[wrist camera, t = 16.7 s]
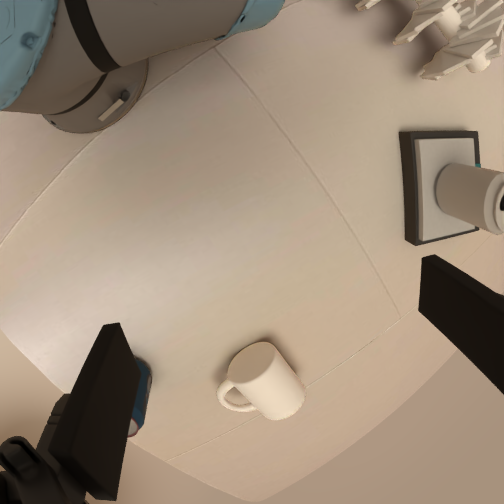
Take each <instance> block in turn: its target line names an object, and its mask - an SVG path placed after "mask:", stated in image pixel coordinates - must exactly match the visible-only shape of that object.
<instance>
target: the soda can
mask: <svg viewBox="0 0 504 504" xmlns="http://www.w3.org/2000/svg"><path fill="white" fill-rule="evenodd" d="M135 360H136V362H137V365H138V367H139V369H140V371H141V373H142V374H141V378H140V382H139V387H138V391H137V395H136V400H135V404H134V409H133V413H132V418H131V422H130V427H129V432H128V437H132V436H134V435H136V434H137V432H138V430H139V429H140V428H141V427H142V426H143V424H144V420H145V415H146V409H147V404H148V398H149V393H150V388H151V383H152V376H151V373H150V371H149V369H148V368H147V367H146V365H145V364H144V363H143V362H141V361H140V360H138V359H135ZM128 437H127V438H128Z"/></svg>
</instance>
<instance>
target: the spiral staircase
mask: <svg viewBox="0 0 504 504" xmlns="http://www.w3.org/2000/svg"><path fill="white" fill-rule="evenodd" d="M379 1H381V0H361V1H360V2H359V3H357V4H356V5H355V7H356V8H357V10H358V11H362V10H364V9H367V10H368V9H369V8H370V7H372V6H373V5H374V4H376V3H378V2H379ZM415 1H416V2H417V4H418V6H419V7H418V8H417V9H416V10H415V11H414V12H412V13H413V14H412V19H411V20H410V21H409V23H408V24H407V25H406V26H405V27H404V29H403V30H402V31H401V32H400V33H399V34H398V35H397V36H395V37H396V39H395V40H394V41H393V42H392V43H393V44H394V45H399V44H403V43H408V42H411V41H412V40H413V39H414V38H415V37H416V36H417V35H418V34H419V33H420V32H421V31H422V30H423V29H424V28H425V27H426V26H428V25H429V24H431V23H435V25H436V26H437V27H438V28H439V30H440V31H441V32H442V33H443V35H444V36H445V37H446V39H447V40H448V41H449V43H448V44H447V45H445V46H444V47H443V48H441V49H440V51H438V52H436V53H435V55H434V57H433V59H432V61H430V62H428V63H427V64H425V65H424V66H423V67H424V70H425V72H424V73H423V74H422V75H421V76H420V77H421V78H422V79H428V80H438V79H439V78H440V77H441V76H443V75H447V74H448V73H450V72H452V71H454V70H456V69H458V68H460V67H462V66H464V65H466V67H467V68H468V70H469V71H470V72H472V73H476V72H480V71H482V70H484V69H486V68H487V67H488V66H489V65H490V62H491V60H490V59H492V58H495V57H499V56H501V53H502V45H503V37H504V32H503V30H501V29H502V27H503V24H504V21H503V19H504V10H503V8H502V7H500V5H501V4H502V3H503V1H502V0H484V1H483V2H482V3H480V4H479V5H478V6H477V0H465V1H463V2H461V3H456V2H457V1H458V0H415Z"/></svg>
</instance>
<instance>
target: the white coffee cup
mask: <svg viewBox="0 0 504 504" xmlns="http://www.w3.org/2000/svg"><path fill="white" fill-rule="evenodd" d="M227 376H228V379H227V380H225V381H224V382H223V383H222V384H220V386H219V387H218V389H217V392H216V394H217V398H218V400H219V402H220V403H221V404H222V405H223V406H224V407H226V408H228V409H230V410H233V411H238V412H250V411H254V410H258V411H259V412H260V413H261V414H262V415H263V416H265V417H266V418H268V419H270V420H282V419H285V418H287V417H289V416H291V415H293V414H294V413H295V412H296V411H297V410H298V409H299V408H300V407H301V406H302V404H303V402H304V400H305V397H306V389H305V386H304V385H303V383H302V382H301V381H300V379H299V378H298V377H297V375H296V374H295V373H294V372H293V370H292V369H291V368H290V366H289V365H288V364H287V362H286V361H285V360H284V358H283V357H282V356H281V354H280V353H279V352H278V350H277V349H276V348H275V346H274V345H272V344H271V343H268V342H258V343H254V344H252V345H249V346H248V347H246V348H244V349H243V350H241V351H240V352H239V353H238V354H237V355H236V356H235V357H234V358H233V360H232V361H231V363H230V365H229V367H228V371H227ZM233 387H236V388H237V389H238V390H239V391H240V392H241V393H242V394H243V395H244V396H245V397H246V399H247V400H248V401H249V402H250V403H248V404H244V405H236V404H233V403H231V402H230V401H228V400H227V399H226V398H225V397H224V396H225V394H226V393H227V392H228V391H229V390H230V389H232V388H233Z"/></svg>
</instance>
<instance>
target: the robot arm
mask: <svg viewBox="0 0 504 504" xmlns="http://www.w3.org/2000/svg"><path fill="white" fill-rule="evenodd" d="M284 2H285V0H0V111H9V112H22V113H34V114H42V115H43V117H44V118H45V119H46V120H47V121H48V122H49V123H50V124H52V125H53V126H55V127H56V128H58V129H60V130H63V131H66V132H70V133H92V132H96V131H99V130H102V129H105V128H107V127H109V126H111V125H112V124H114V123H115V122H117V121H118V120H120V119H121V118H122V117H123V116H124V115H125V114H126V113H127V112H128V111H129V110H130V109H131V108H132V107H133V105H134V104H135V103H136V101H137V99H138V98H139V96H140V94H141V92H142V90H143V87H144V85H145V81H146V77H147V71H148V60H147V58H149V57H152V56H155V55H158V54H161V53H164V52H167V51H171V50H174V49H177V48H181V47H184V46H188V45H191V44H195V43H199V42H203V41H207V40H211V39H215V40H222V39H225V38H227V37H229V36H231V35H232V34H236V33H241V32H245V31H249V30H254V29H258V28H261V27H263V26H265V25H266V24H268V23H269V22H270V21H271V20H272V19H274V18H275V17H276V16H277V15H278V13H279V11H280V10H281V8H282V6H283V4H284ZM418 311H419V312H420V313H421V314H422V315H424V316H425V317H426V318H427V319H428V320H429V321H430V322H431V323H432V324H433V325H434V326H435V327H436V328H437V329H438V330H440V331H441V332H442V333H443V334H444V335H445V336H446V337H447V338H448V339H449V340H450V341H451V342H452V343H453V344H454V345H455V346H456V347H457V348H458V349H459V350H460V351H461V352H462V353H463V354H464V355H465V356H466V357H468V359H469V360H470V361H472V362H473V363H474V365H475V366H477V368H478V369H479V370H480V371H481V372H482V373H484V375H485V376H486V377H487V378H488V379H489V380H490V381H491V382H492V383H493V384H494V385H495V386H496V387H497V388H498V389H499V390H500V391H501V392H502V393H503V394H504V296H503V295H501V294H498V293H495V292H494V291H492V290H491V289H489V288H488V287H486V286H485V285H483V284H482V283H480V282H479V281H477V280H476V279H474V278H472V277H471V276H469V275H468V274H466V273H465V272H463V271H461V270H460V269H458V268H457V267H455V266H453V265H452V264H450V263H448V262H447V261H445V260H443V259H442V258H440V257H438V256H437V255H435V254H434V255H430V256H426V257H423V258H422V264H421V283H420V297H419V308H418ZM141 374H142V373H141V371H140V369H139V367H138V365H137V362H136V360H135V358H134V356H133V354H132V351H131V349H130V347H129V344H128V342H127V340H126V337H125V335H124V333H123V330H122V328H121V325H120V323H113V324H106V325H103V327H102V329H101V330H100V332H99V334H98V336H97V338H96V340H95V342H94V344H93V346H92V348H91V351H90V353H89V355H88V357H87V359H86V361H85V363H84V365H83V367H82V369H81V371H80V374H79V376H78V378H77V380H76V382H75V385H74V387H73V389H72V391H71V394H64V395H63V396H62V397H61V398H60V399H59V400H58V401H57V402H56V404H55V406H54V408H53V410H52V412H51V416H50V417H49V419H48V421H47V425H46V426H45V428H44V431H43V433H42V436H41V438H40V440H39V443H38V445H37V448H36V450H35V449H34V448H33V447H32V445H31V444H30V443H29V442H28V441H27V440H26V439H25V438H23V437H21V436H14V437H11V438H9V439H7V440H6V441H4V442H3V443H2V444H1V446H0V465H1V466H2V467H3V468H4V469H5V470H6V471H1V472H0V504H89V503H88V502H87V501H86V500H85V495H86V491H87V492H88V493H89V494H91V495H92V496H93V497H94V498H95V499H98V500H109V501H116V499H117V493H118V487H119V480H120V474H121V469H122V463H123V457H124V453H125V447H126V442H127V437H128V432H129V427H130V422H131V418H132V413H133V409H134V404H135V400H136V395H137V391H138V387H139V382H140V378H141Z"/></svg>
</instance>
